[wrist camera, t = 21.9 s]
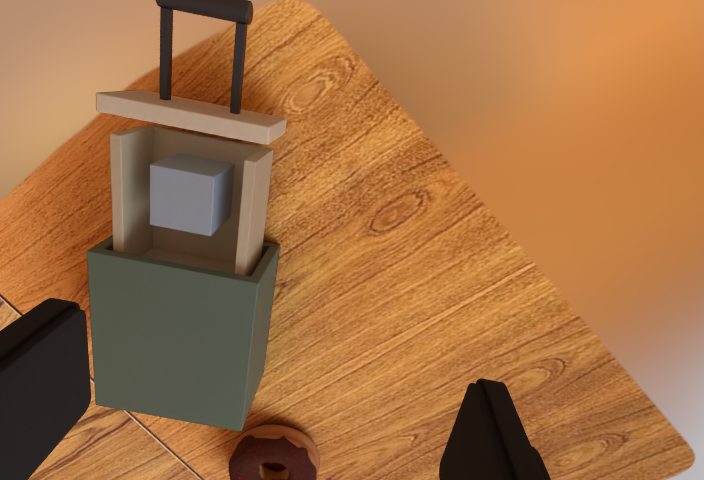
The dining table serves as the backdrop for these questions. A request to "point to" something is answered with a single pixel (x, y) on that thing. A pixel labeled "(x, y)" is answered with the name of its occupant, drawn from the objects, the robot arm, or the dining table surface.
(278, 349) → the dining table surface
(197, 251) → the drawer
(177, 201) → the block
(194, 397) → the cabinet
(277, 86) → the dining table surface
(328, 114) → the dining table surface
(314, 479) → the donut
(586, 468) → the dining table surface
